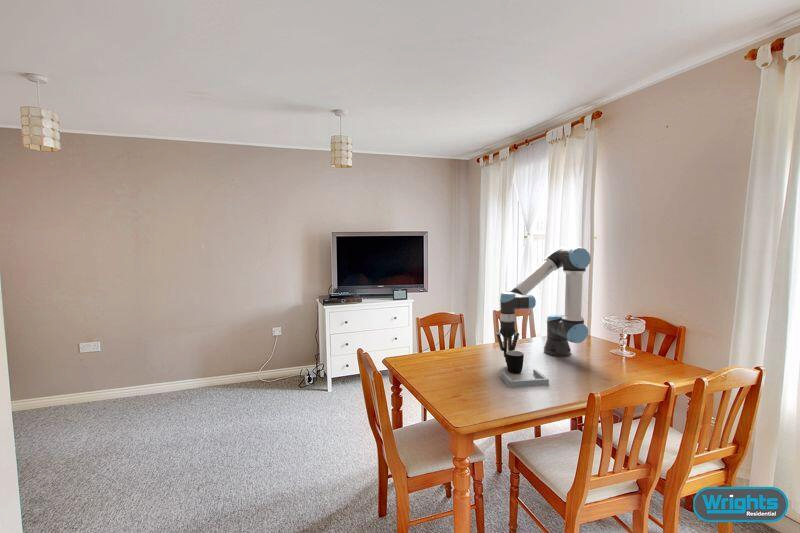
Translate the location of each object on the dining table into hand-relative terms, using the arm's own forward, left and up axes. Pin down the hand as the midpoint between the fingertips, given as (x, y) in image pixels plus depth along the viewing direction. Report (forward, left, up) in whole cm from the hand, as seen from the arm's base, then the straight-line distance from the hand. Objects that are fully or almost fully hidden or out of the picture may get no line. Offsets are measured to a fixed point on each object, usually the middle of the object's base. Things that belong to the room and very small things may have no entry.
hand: (507, 362), depth 209 cm
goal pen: (+22, 0, -2) cm, 22 cm away
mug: (+7, 0, -2) cm, 7 cm away
